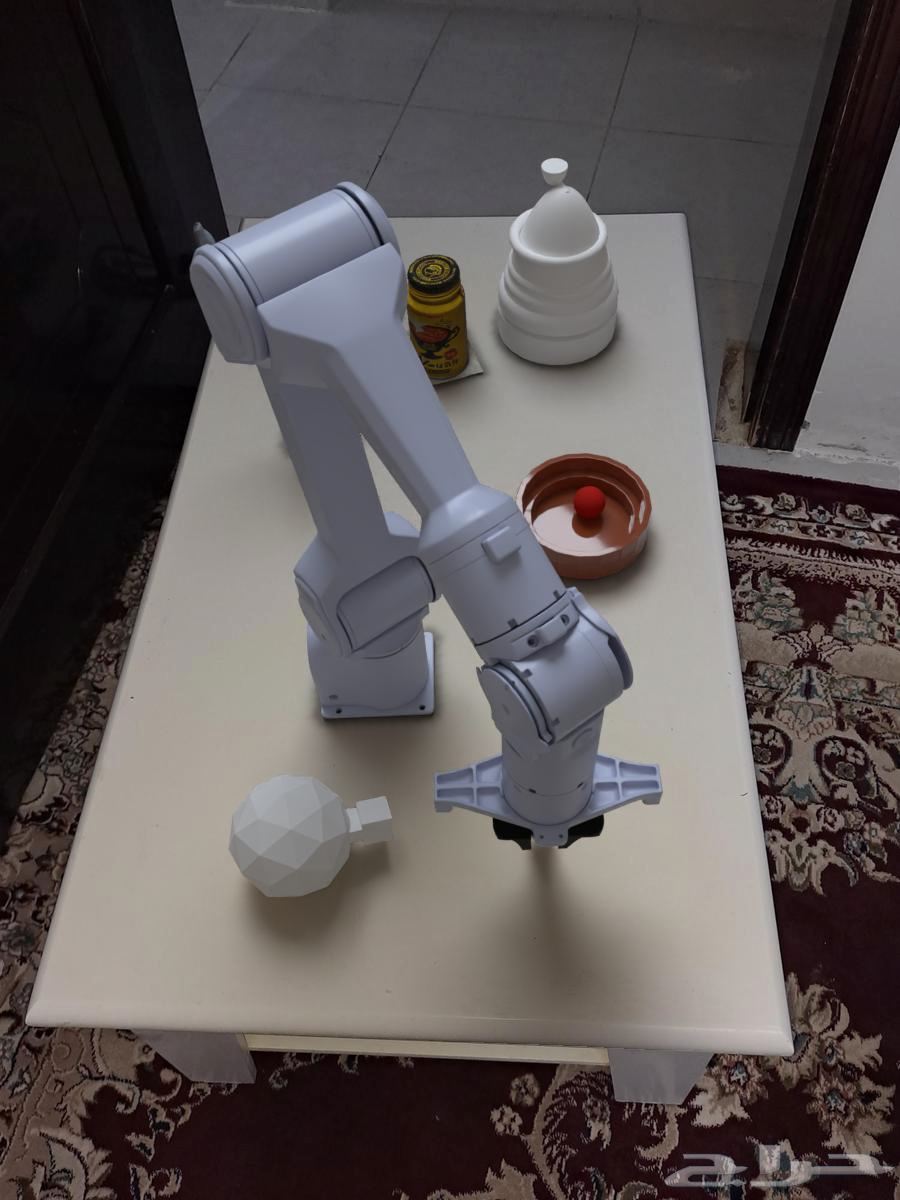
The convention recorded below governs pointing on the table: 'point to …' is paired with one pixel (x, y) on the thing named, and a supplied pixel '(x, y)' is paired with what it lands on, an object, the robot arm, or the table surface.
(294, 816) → the perfume bottle
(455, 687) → the table surface
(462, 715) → the table surface
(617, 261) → the table surface
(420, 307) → the condiment
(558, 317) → the honey pot
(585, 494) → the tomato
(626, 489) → the bowl
